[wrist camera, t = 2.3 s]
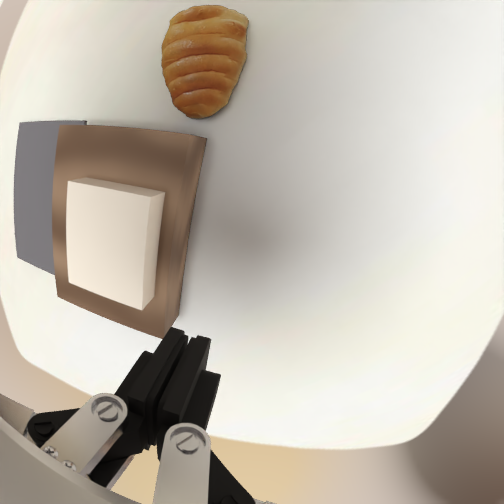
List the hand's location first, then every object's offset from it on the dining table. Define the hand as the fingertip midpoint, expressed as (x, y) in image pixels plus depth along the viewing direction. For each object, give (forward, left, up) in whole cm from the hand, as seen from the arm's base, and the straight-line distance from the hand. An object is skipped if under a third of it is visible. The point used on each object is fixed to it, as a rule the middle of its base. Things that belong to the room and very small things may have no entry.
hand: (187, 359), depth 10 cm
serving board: (-1, -10, -13) cm, 16 cm away
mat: (-1, -22, -13) cm, 26 cm away
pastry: (-15, -6, -13) cm, 21 cm away
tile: (-1, -9, -9) cm, 12 cm away
